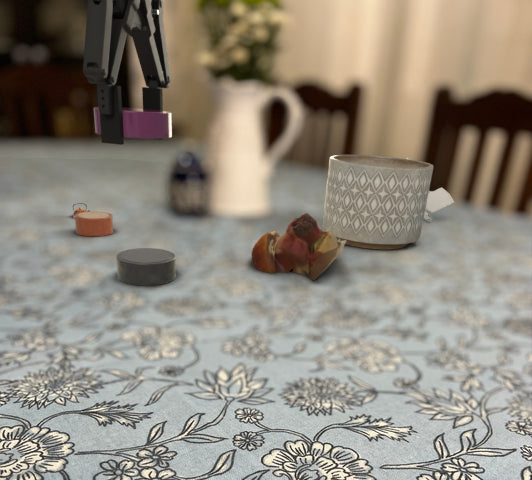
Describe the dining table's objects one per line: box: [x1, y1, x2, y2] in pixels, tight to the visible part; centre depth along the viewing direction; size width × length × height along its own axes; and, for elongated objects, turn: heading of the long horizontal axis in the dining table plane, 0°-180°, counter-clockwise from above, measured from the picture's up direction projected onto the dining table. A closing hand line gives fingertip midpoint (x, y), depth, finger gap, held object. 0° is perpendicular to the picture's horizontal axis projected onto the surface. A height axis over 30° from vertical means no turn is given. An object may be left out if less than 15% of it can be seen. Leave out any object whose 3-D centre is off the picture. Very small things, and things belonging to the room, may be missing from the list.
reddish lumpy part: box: [251, 212, 346, 281], centre depth 82 cm, size 16×13×10 cm
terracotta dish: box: [73, 211, 114, 237], centre depth 92 cm, size 6×6×3 cm
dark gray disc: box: [115, 247, 177, 287], centre depth 72 cm, size 8×8×3 cm
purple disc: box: [93, 106, 173, 140], centre depth 69 cm, size 10×10×3 cm
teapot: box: [72, 202, 91, 219], centre depth 102 cm, size 3×3×3 cm
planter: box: [322, 154, 434, 250], centre depth 97 cm, size 19×19×14 cm
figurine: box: [405, 157, 455, 223], centre depth 120 cm, size 15×12×14 cm
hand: (134, 140), depth 70 cm, fingers closed on purple disc, 10 cm apart
